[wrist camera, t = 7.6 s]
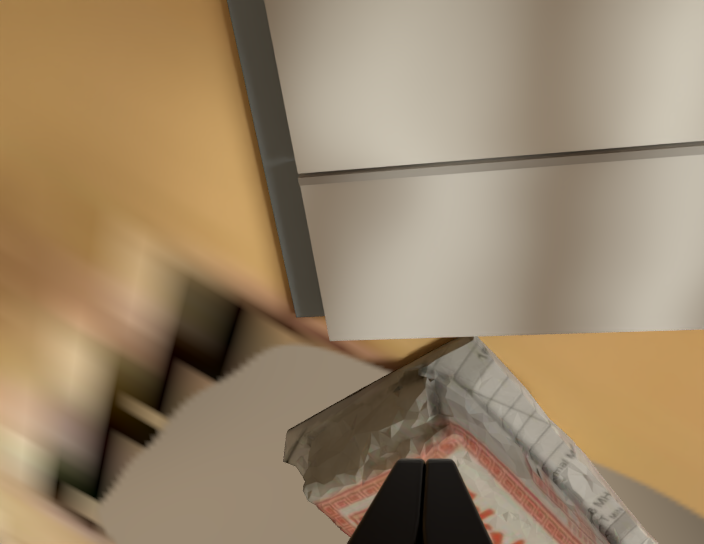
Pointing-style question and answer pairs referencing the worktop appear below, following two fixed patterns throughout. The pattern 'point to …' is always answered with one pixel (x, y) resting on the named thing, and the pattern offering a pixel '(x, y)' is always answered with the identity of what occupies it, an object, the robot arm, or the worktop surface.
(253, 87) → the underlay mat
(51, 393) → the worktop surface
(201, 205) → the worktop surface
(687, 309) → the grey flat block
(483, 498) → the packaged product
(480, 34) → the loose plank
